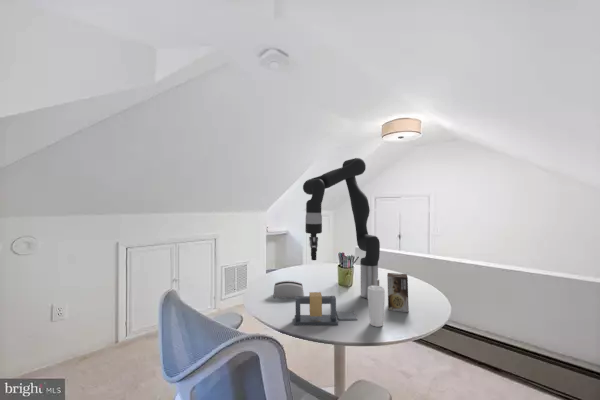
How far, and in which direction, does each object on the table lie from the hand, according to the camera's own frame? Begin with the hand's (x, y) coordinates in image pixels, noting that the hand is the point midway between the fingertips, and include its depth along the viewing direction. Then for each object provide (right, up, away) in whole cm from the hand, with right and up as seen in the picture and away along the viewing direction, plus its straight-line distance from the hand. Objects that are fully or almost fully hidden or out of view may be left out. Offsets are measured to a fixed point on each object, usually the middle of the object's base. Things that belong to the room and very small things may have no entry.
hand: (313, 258), depth 117 cm
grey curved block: (-12, -26, +22) cm, 37 cm away
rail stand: (+1, -25, -8) cm, 26 cm away
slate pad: (+15, -25, -3) cm, 29 cm away
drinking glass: (+26, -25, -11) cm, 37 cm away
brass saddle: (+1, -22, -8) cm, 23 cm away
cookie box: (+41, -26, +5) cm, 48 cm away
